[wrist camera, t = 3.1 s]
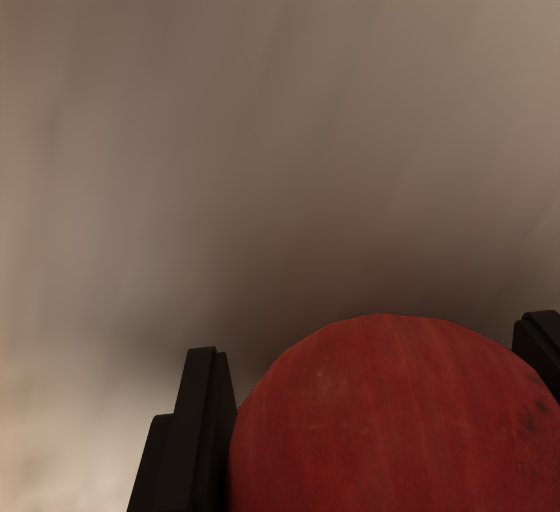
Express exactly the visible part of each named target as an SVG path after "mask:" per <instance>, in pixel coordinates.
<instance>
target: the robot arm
mask: <svg viewBox="0 0 560 512" xmlns="http://www.w3.org/2000/svg"><path fill="white" fill-rule="evenodd" d="M511 351H512V352H514V353H515V354H516V355H517V356H519V357H520V358H521V359H522V360H523V361H525V362H526V363H527V364H528V365H530V366H531V367H532V368H533V369H534V370H536V372H537V373H538V375H539V376H540V378H541V379H542V381H543V382H544V383H545V385H546V386H547V388H548V389H549V391H550V392H551V394H552V395H553V397H554V398H555V400H556V401H557V402H558V404H559V405H560V314H559V313H558V312H556V311H555V310H545V311H536V312H527V313H525V314H523V316H522V319H521V320H517V321H516V322H515V324H514V329H513V340H512V350H511ZM236 417H237V408H236V403H235V397H234V392H233V387H232V382H231V376H230V371H229V366H228V361H227V356H226V353H225V352H219V353H217V350H216V347H215V346H212V347H202V348H193V349H189V350H188V352H187V357H186V361H185V365H184V370H183V374H182V378H181V383H180V387H179V391H178V396H177V400H176V404H175V409H174V413H172V414H162V415H156V416H155V417H154V418H153V420H152V422H151V425H150V429H149V433H148V436H147V440H146V443H145V447H144V451H143V454H142V458H141V461H140V465H139V469H138V472H137V476H136V479H135V483H134V487H133V490H132V494H131V497H130V501H129V504H128V508H127V512H224V485H225V478H226V470H227V462H228V455H229V447H230V443H231V438H232V434H233V430H234V425H235V421H236Z"/></svg>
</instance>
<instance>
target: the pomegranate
mask: <svg viewBox="0 0 560 512" xmlns="http://www.w3.org/2000/svg"><path fill="white" fill-rule="evenodd" d="M224 512H560V405H559V404H558V402H557V401H556V400H555V398H554V397H553V395H552V394H551V392H550V391H549V389H548V388H547V386H546V385H545V383H544V382H543V381H542V379H541V378H540V376H539V375H538V373H537V372H536V370H534V369H533V368H532V367H531V366H530V365H528V364H527V363H526V362H525V361H523V360H522V359H521V358H520V357H519V356H517V355H516V354H515V353H514V352H512V351H511V350H510V349H509V348H507V347H506V346H505V345H502V344H500V343H498V342H496V341H494V340H491V339H489V338H487V337H485V336H483V335H481V334H478V333H476V332H474V331H472V330H470V329H467V328H465V327H463V326H461V325H459V324H457V323H454V322H452V321H450V320H442V319H434V318H425V317H415V316H405V315H395V314H385V313H375V314H370V315H365V316H361V317H356V318H351V319H346V320H341V321H337V322H332V323H329V324H327V325H325V326H324V327H322V328H320V329H319V330H317V331H315V332H314V333H312V334H311V335H309V336H307V337H306V338H304V339H302V340H301V341H299V342H297V343H296V344H294V345H292V346H291V347H289V348H288V349H287V350H286V351H285V352H284V353H283V354H282V355H281V356H280V357H279V358H278V359H277V360H276V361H275V362H274V363H273V364H272V365H271V366H270V367H269V369H268V370H267V371H266V373H265V374H264V375H263V377H262V378H261V379H260V381H259V382H258V383H257V385H256V386H255V387H254V389H253V390H252V391H251V393H250V394H249V395H248V397H247V398H246V399H245V401H244V402H243V403H242V405H241V406H240V407H239V409H238V412H237V417H236V421H235V425H234V430H233V434H232V438H231V443H230V447H229V455H228V462H227V470H226V478H225V485H224Z"/></svg>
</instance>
